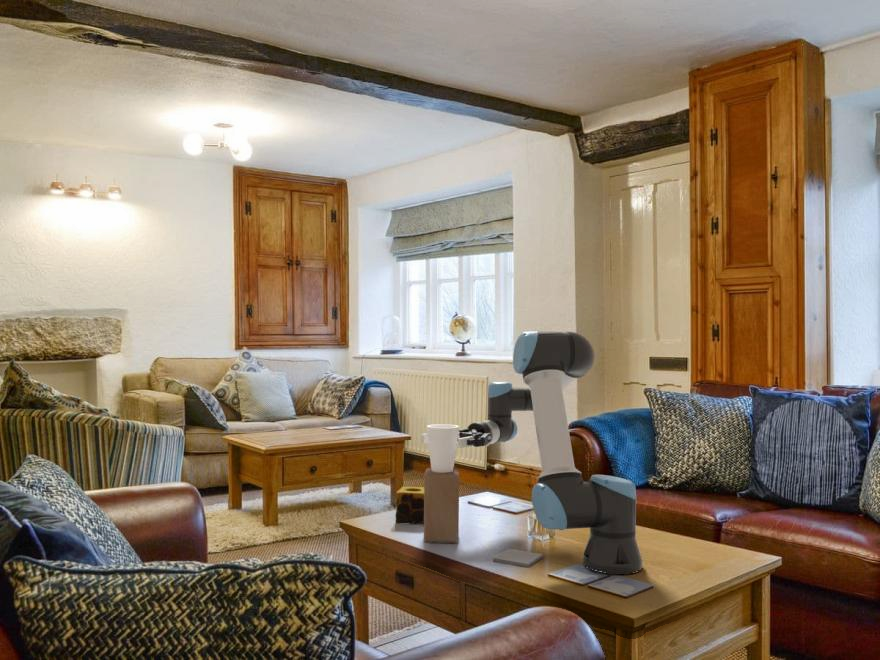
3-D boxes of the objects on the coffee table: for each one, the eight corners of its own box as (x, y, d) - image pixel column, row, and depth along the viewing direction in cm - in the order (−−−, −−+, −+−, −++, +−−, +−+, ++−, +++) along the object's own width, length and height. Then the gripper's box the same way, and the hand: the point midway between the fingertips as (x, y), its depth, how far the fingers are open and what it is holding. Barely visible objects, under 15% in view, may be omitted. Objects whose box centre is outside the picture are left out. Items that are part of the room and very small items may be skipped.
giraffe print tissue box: (426, 525, 241) (426, 493, 241) (394, 523, 243) (395, 492, 243) (432, 517, 251) (432, 487, 251) (402, 516, 253) (402, 485, 253)
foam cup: (424, 472, 222) (424, 427, 222) (428, 467, 231) (428, 423, 231) (456, 474, 221) (457, 428, 221) (459, 468, 230) (460, 424, 230)
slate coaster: (542, 557, 209) (542, 554, 209) (528, 567, 200) (528, 563, 200) (508, 551, 214) (508, 548, 214) (493, 561, 205) (493, 558, 205)
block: (458, 544, 221) (459, 474, 221) (423, 543, 221) (424, 473, 221) (458, 534, 231) (459, 467, 231) (424, 534, 231) (425, 467, 231)
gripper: (515, 449, 234) (474, 458, 217) (450, 441, 250) (407, 449, 233) (516, 425, 234) (475, 432, 217) (450, 418, 250) (408, 424, 233)
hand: (440, 441), depth 225 cm, fingers open, 13 cm apart
